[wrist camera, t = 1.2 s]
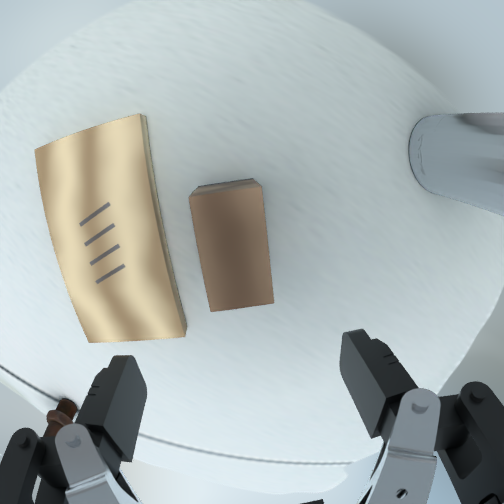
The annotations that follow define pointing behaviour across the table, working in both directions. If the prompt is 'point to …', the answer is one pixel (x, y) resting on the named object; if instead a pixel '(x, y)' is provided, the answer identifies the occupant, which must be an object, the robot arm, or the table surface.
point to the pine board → (110, 232)
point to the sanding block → (232, 244)
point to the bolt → (60, 417)
